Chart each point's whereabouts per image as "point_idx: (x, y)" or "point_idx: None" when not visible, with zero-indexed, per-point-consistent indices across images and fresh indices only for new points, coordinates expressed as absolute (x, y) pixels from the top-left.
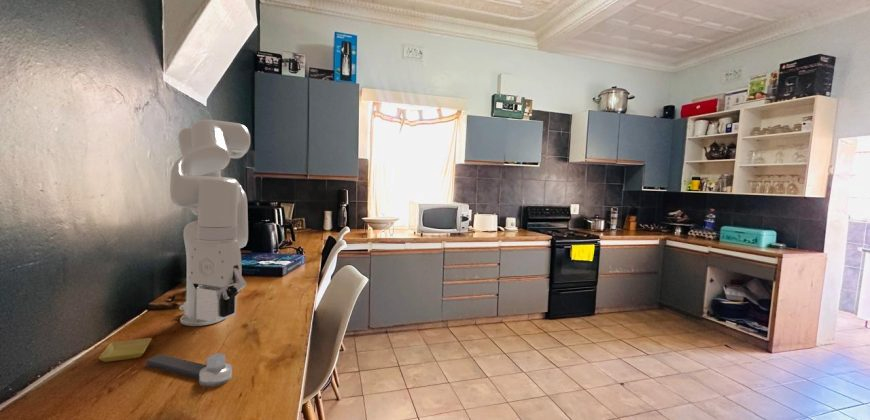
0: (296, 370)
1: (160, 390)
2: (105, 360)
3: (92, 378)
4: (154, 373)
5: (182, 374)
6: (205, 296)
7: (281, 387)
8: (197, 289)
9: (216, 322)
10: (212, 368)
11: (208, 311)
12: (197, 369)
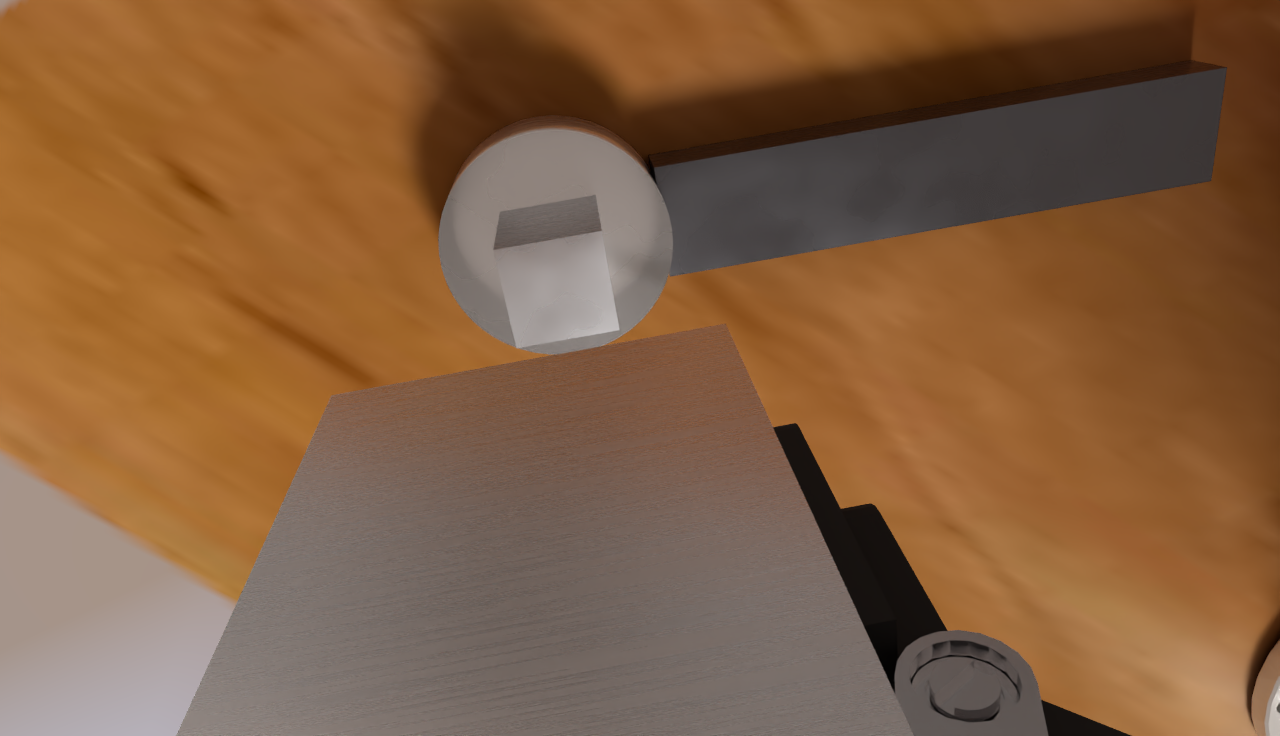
0: (194, 565)
1: None
2: None
3: None
4: (1032, 29)
5: (817, 127)
6: (547, 636)
7: (61, 388)
8: (867, 708)
9: (1261, 668)
10: (532, 216)
11: (470, 448)
12: (721, 194)
